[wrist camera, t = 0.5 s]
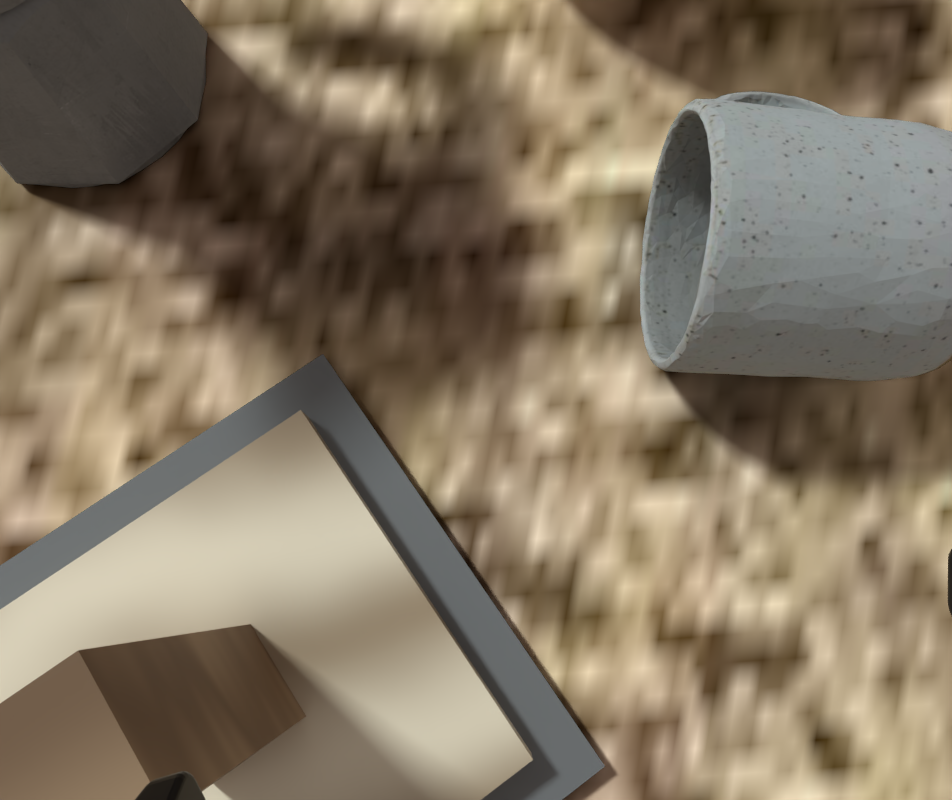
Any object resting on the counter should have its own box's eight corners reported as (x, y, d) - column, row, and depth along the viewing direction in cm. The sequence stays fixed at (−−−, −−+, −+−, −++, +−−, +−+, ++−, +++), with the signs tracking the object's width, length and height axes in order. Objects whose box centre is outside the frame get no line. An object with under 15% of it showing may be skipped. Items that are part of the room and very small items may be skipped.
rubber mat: (602, 762, 22) (604, 766, 22) (152, 1112, 20) (144, 1125, 20) (326, 358, 25) (322, 353, 25) (-88, 630, 23) (-100, 631, 23)
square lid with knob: (530, 752, 22) (568, 894, 12) (166, 1031, 20) (-155, 1472, 10) (308, 417, 24) (179, 294, 14) (-33, 644, 23) (-452, 689, 13)
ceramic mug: (894, 410, 25) (1070, 327, 17) (638, 400, 25) (704, 314, 17) (865, 122, 27) (1007, -57, 20) (635, 115, 28) (690, -65, 20)
